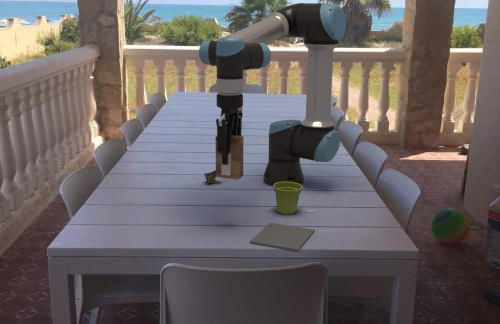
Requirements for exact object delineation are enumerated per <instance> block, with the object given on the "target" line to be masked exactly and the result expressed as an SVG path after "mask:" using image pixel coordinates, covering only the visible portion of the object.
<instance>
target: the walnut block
mask: <svg viewBox="0 0 500 324" xmlns="http://www.w3.org/2000/svg"><path fill="white" fill-rule="evenodd" d="M244 142H245V141H244V135H243V136H242V135H241V136H235V135H231V141H230V152H229V153H231V175H230V176H228V175H221V153H218V151H217V135H216V136H215V170H216V178H222V179H231V180H237V181H239V179H241V178H242V177H244Z"/></svg>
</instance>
